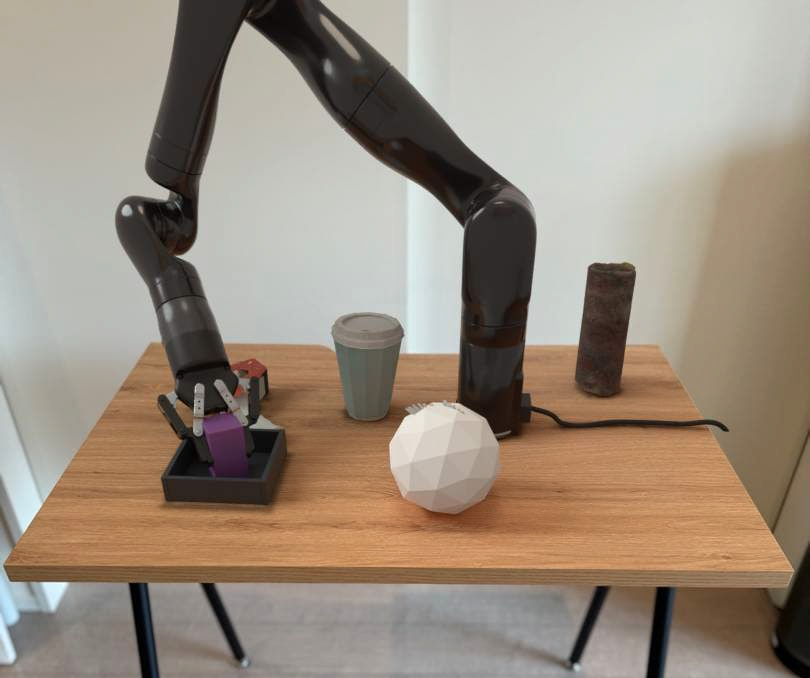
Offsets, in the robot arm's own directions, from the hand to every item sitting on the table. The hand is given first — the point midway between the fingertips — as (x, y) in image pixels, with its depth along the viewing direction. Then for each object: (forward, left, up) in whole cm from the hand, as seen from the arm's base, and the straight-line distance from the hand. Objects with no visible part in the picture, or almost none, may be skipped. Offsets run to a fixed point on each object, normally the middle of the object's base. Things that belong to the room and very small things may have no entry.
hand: (230, 460), depth 105 cm
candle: (-52, -33, -4) cm, 62 cm away
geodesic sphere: (-28, +2, -4) cm, 28 cm away
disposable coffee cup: (-16, -22, -4) cm, 28 cm away
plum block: (+1, -2, -3) cm, 4 cm away
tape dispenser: (+4, -19, -4) cm, 20 cm away
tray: (+1, -2, -4) cm, 4 cm away
